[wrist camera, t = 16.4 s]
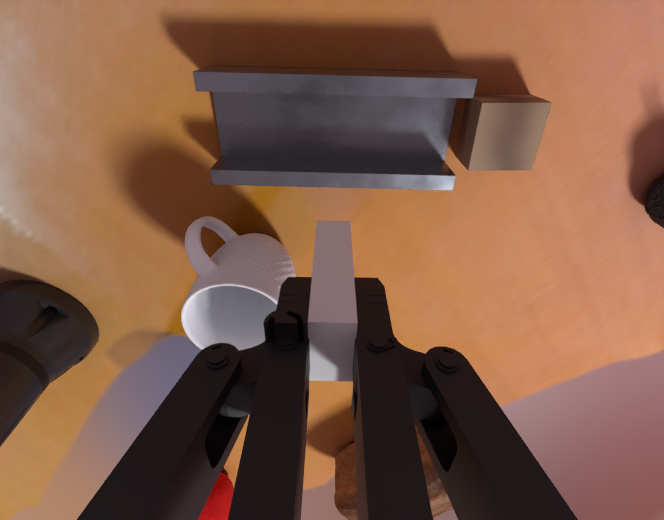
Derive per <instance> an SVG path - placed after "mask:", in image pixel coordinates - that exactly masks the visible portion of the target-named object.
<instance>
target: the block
mask: <svg viewBox="0 0 664 520" xmlns="http://www.w3.org/2000/svg"><path fill="white" fill-rule="evenodd" d="M551 105H552V102H549V101H547V100H544V99H542V98H539V97H536V96H534V95H531V94H493V95H474V97H473V98H467V99H466V105H465V110H464V115H463V121H462V126H461V132H460V137H459V142H458V148H457V153H456V157H457V158H458V160H459V161H460V162H461V163H462V164H463V165H464V166H465V167H466V169H467V170H531V169H532V166H533V163H534V160H535V156H536V153H537V150H538V147H539V144H540V140H541V137H542V134H543V131H544V127H545V124H546V121H547V118H548V115H549V111H550V108H551Z"/></svg>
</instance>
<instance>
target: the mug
mask: <svg viewBox="0 0 664 520" xmlns="http://www.w3.org/2000/svg"><path fill="white" fill-rule="evenodd" d="M202 227H207V228H209V229H211V230H213V231H214V232H216V233H217V234H218V235H219V236H220V237H221V238H222V239H223V240H224V241H225V242H226V244H223V245H222V247H221V248H219V249H218V250H217V251H216V252H215V253H214V254H213V255H212V257H211V258H209V256H208V255H207V254H206V252H205V251H204V249H203V246H202V243H201V235H200V234H201V229H202ZM185 248H186V253H187V256H188V258H189V261H190V263H191V265H192V266H193V268H194V270H195V271H196V272H197V274H199V275H198V277H197V279H196V280H195V282H194V284H193V286H192V288H191V290H190V292H189V294H188V296H187V298H186V300H185V302H184V305H183V307H182V311H181V322H182V325H183V328H184V330H185V332H186V334H187V336H188V337H189V338H190V340H191V341H192V342H193V343H194V344H195V345H196V346H198V347H199V348H200V349H202V350H203V349H204V348H206V347H208V346H210V345H212V344H216V343H229V344H231V345H234V346H235V347H236V348H237V349H238V350H244V349H248V348H252V347H255V346H257V345H259V344H261V343H263V342H264V341H265V333H264V324H263V322H264V320H265V318H266V317H267V316H268V315H269V314H270V313H271V312H273V311H276V308H277V303H278V298H279V293H280V288H281V284H282V283H283V282H284V281H285V280H286V279H287V278H288V277H295V276H296V274H295V271H294V266H293V263H292V260H291V258H290V255H289V254H288V251H287V250H286V249H285V248H284V246H283V245H282V244H281V243H279V242H278V241H277V240H276V239H274V238H273V237H271V236H268V235H265V234H261V233H249V234H244V235H240V236H239V235H238V234H237V233H236V232H234V231H233V230H232V229H231V228H230V227H229V226H228V225H227V224H225V223H224V222H222V221H221V220H219V219H217V218H215V217H211V216H205V217H201V218H199V219H197V220H195V221H194V222H193V223H192V224H191V225H190V226H189V227H188V229H187V232H186V235H185Z"/></svg>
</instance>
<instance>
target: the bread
mask: <svg viewBox="0 0 664 520" xmlns="http://www.w3.org/2000/svg"><path fill="white" fill-rule="evenodd" d="M415 428H416V434H417V439H418V444H419V449H420V454H421V459H422V464H423V470H424V475H425V480H426V485H427V490H428V495H429V501H430V506H431V511H432V516H433V517H436V516H438V515H440V514H442V513H444V512H447V511H449V510H451V509H453V507H452V504H451V502H450V500H449V498H448V495H447V493H446V491H445V489H444V487H443V484H442V482H441V480H440V478H439V476H438V473H437V471H436V469H435V467H434V465H433V462H432V460H431V458H430V456H429V454H428V451H427V449H426V447H425V445H424V443H423V440H422V438H421V436H420V434H419V432H418V429H417V427H416V425H415ZM335 463H336V468H335V489H336V491H335V496H334V497H335V505H336V507H337V509H338V511H339V512H340V513H341V514H342V515H343V516H344V517H346V518H347V519H348V520H358V515H357V491H356V468H355V445H354V443H352V444H350V445H348V446H346V447H345V448H344V449H342V450H341V451H340V452H339V453H338V454H337V455H336V457H335Z"/></svg>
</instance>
